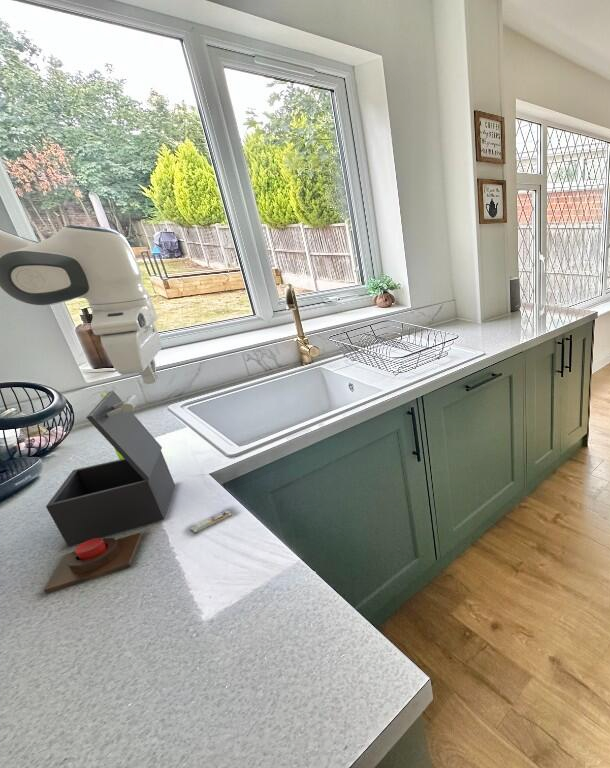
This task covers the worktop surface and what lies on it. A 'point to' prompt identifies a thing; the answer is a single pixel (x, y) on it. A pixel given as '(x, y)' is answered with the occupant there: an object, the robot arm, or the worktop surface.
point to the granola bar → (210, 521)
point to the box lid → (126, 432)
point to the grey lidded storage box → (110, 500)
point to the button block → (95, 563)
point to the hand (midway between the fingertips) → (152, 381)
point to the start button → (90, 548)
